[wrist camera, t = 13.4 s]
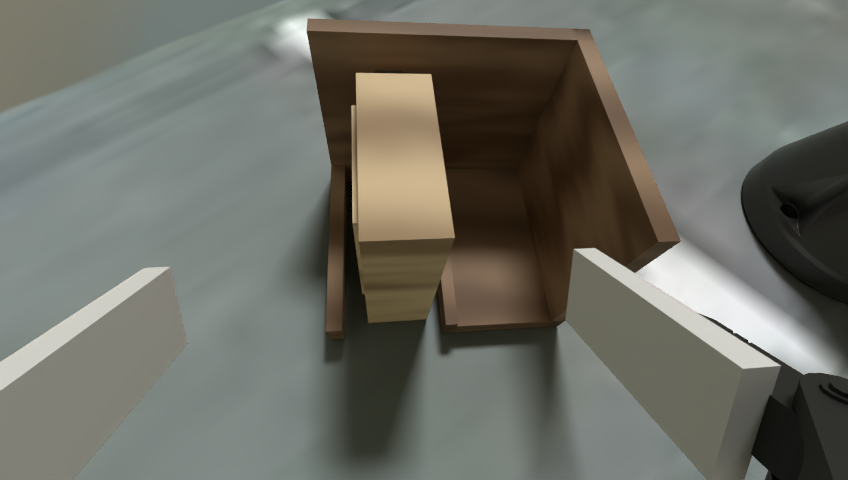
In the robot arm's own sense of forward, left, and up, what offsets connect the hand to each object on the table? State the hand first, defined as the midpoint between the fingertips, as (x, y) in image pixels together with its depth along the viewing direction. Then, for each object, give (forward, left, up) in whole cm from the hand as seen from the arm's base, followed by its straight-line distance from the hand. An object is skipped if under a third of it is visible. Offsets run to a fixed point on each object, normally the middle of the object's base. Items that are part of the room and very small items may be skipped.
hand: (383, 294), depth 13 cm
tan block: (+5, -6, -14) cm, 16 cm away
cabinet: (+3, -9, -14) cm, 17 cm away
